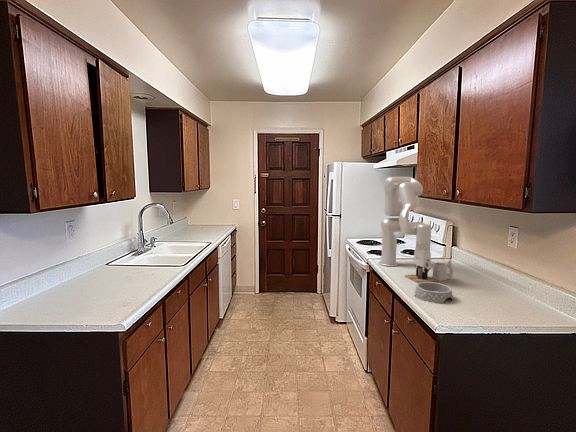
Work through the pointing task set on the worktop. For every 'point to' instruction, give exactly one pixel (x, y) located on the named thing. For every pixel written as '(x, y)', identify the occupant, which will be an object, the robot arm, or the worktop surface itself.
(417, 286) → the dog bowl
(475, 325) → the worktop surface
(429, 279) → the walnut lid
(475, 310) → the worktop surface
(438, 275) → the mug
